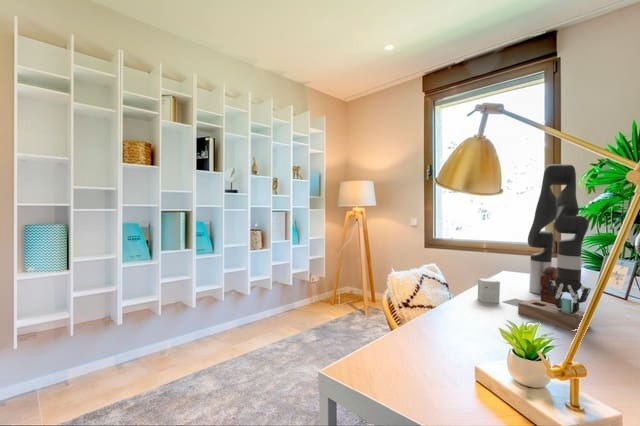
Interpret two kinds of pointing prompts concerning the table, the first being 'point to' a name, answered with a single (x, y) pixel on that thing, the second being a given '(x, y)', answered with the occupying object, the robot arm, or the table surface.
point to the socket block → (550, 314)
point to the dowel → (566, 305)
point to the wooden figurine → (545, 293)
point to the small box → (488, 290)
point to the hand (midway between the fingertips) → (566, 309)
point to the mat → (513, 302)
